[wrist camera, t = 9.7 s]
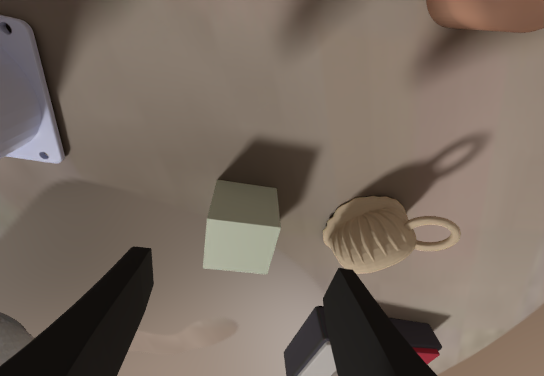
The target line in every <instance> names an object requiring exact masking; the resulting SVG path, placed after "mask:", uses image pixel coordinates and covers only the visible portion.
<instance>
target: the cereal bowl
mask: <svg viewBox="0 0 544 376" xmlns="http://www.w3.org/2000/svg"><path fill="white" fill-rule="evenodd" d="M33 339H35V338H33V337H32V336H31V335H30V334H29V333H28V332H27V331H26V329H25V328H24V327H23V326H22V325H21V324H20V323H19V322H17V321H16V320H15V319H13V318H11V317H9V316H7V315H5V314H3V313H0V366H1V365H2V364H3V363H4V362H6V361H7V360H8V359H10V358H11V357H12V356H13V355H15V354H16V353H17V352H18V351H20V350H21V349H22V348H24V347H25V346H26V345H27V344H28V343H30V342H31V341H32V340H33Z"/></svg>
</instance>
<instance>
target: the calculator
mask: <svg viewBox="0 0 544 376" xmlns="http://www.w3.org/2000/svg"><path fill="white" fill-rule="evenodd" d="M389 319H390V321H391V322H392V323H393V324H394V326H395V327H396V328H397V329H398V331H399V332H400V333H401V334H402V336H403V337H404V338H405V339H406V341H407V342H408V343H409V344H410V345H411V347H412V348H413V349H414V350H415V351H416V353H417V354H418V355H419V356H420V357H421V358H422V359H423V361H424V362H425V363H426V364H428V363H430V362H431V361H432V360H434V359H435V358H436V357H438V356H439V355H440V354H439V352H438V351H439V350H440V349H441V348H442V346H441V344H440V342H439V340H438V339H437V337H436V335H435V334H434V332H433V330H432V329H431V327H430V325H429V324H426V323H420V322H413V321H407V320H400V319H393V318H389ZM284 358H285V368H286V375H287V376H338V374H337V370H336V366H335V362H334V357H333V353H332V349H331V345H330V340H329V336H328V332H327V327H326V321H325V314H324V306H316V307H315V308H314V309H313V311H312V312H311V314H310V315H309V316H308V318H307V319H306V321H305V322H304V324H303V325H302V326H301V328H300V330H299V331H298V332H297V334H296V335H295V336H294V338H293V339H292V341H291V342H290V344H289V345H288V346H287V348H286V349H285V351H284Z"/></svg>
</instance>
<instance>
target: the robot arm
mask: <svg viewBox="0 0 544 376" xmlns="http://www.w3.org/2000/svg"><path fill="white" fill-rule="evenodd" d="M6 23H7V24H8V25H9V26H10V27H11V29H12V33H10V32H9V31H8V30H7V28H6ZM44 152H45V153H46V154H48V156H47V155H45V154H44ZM4 156H7V157H14V158H21V159H28V160H35V161H42V162H49V163H60V162H62V161H63V160H64V159H65V155H64V151H63V147H62V143H61V139H60V135H59V131H58V127H57V123H56V119H55V115H54V111H53V107H52V104H51V100H50V96H49V92H48V88H47V84H46V80H45V76H44V72H43V68H42V64H41V60H40V56H39V52H38V48H37V44H36V40H35V36H34V33H33V30H32V28H31V27H30V26H29V24H28V23H26V22H25V21H23V20H21V19H18V18H13V17H8V16H3V15H0V159H1V158H2V157H4ZM153 284H154V282H153V268H152V254H151V248H143V247H132V248H130V250H128V252H127V253H126V254H125V255H124V256H123V257H122V258H121V259H120V260H119V261H118V262H117V263H116V264H115V265H114V266H113V267H112V268H111V269H110V270H109V271H108V272H107V273H106V274H105V275H104V276H103V277H102V278H101V279H100V280H99V281H98V282H97V283H96V284H95V285H94V286H93V287H92V288H91V289H90V290H89V291H88V292H87V293H86V294H85V295H83V296H82V297H81V298H80V299H79V300H78V301H77V302H76V303H75V304H74V305H73V306H72V307H70V308H69V309H68V310H67V311H66V312H65V313H64V314H62V315H61V316H60V317H59V318H58V319H57V320H56V321H55V322H53V323H52V324H51V325H50V326H49V327H48V328H47V329H46V330H44V331H43V332H42V333H41V334H39V335H38V336H37V337H36V338H35V339H33V340H32V341H31V342H30V343H28V344H27V345H26V346H25V347H24V348H22V349H21V350H20V351H18V352H17V353H16V354H15V355H13V356H12V357H11V358H10V359H8V360H7V361H6V362H4V363H3V364H2V365H1V366H0V376H117V374H118V372H119V370H120V367H121V365H122V363H123V361H124V358H125V356H126V354H127V352H128V349H129V347H130V345H131V342H132V340H133V338H134V336H135V333H136V331H137V329H138V326H139V324H140V322H141V319H142V317H143V315H144V312H145V310H146V306H147V303H148V300H149V297H150V294H151V291H152V287H153ZM323 304H324V314H325V321H326V327H327V332H328V336H329V340H330V345H331V349H332V353H333V357H334V362H335V366H336V370H337V374H338V376H437V375H436V374H435V373H434V372H433V371H432V369H431V368H430V367H429V366H428V365H427V364H426V363H425V362H424V361H423V359H422V358H421V357H420V356H419V355H418V354H417V353H416V351H415V350H414V349H413V348H412V347H411V345H410V344H409V343H408V342H407V341H406V339H405V338H404V337H403V336H402V334H401V333H400V332H399V331H398V329H397V328H396V327H395V326H394V324H393V323H392V322H391V321H390V319H389V318H388V317H387V315H386V314H385V313H384V311H383V310H382V309H381V307H380V306H379V305H378V303H377V302H376V301H375V299H374V298H373V297H372V295H371V294H370V292H369V291H368V290H367V288H366V287H365V286H364V284H363V283H362V281H361V280H360V279H359V277H358V276H357V275H356V273H355V272H354V271H353V270H352V269H343V268H338V270H337V272H336V274H335V276H334V278H333V280H332V282H331V284H330V286H329V288H328V289H327V291H326V293H325V295H324V297H323Z"/></svg>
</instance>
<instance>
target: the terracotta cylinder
mask: <svg viewBox="0 0 544 376" xmlns="http://www.w3.org/2000/svg"><path fill="white" fill-rule="evenodd" d="M426 2H427V8H428V11H429V14H430V16H431V17H432V19H433V20H434V21H435V22H436V23H437V24H439V25H440V26H443V27H445V28H454V29H470V30H486V31H502V32H518V33H526V32H532V31H536V30H539V29H542V28H544V0H426Z"/></svg>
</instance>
